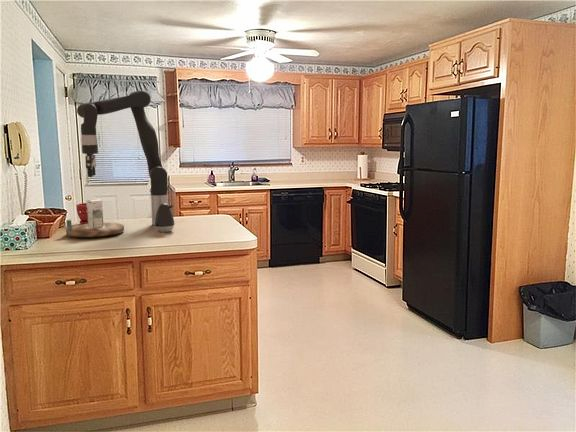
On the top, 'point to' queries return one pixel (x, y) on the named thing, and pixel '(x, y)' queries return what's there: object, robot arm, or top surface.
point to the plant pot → (82, 213)
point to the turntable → (93, 230)
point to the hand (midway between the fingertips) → (91, 176)
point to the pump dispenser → (164, 218)
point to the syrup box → (94, 213)
